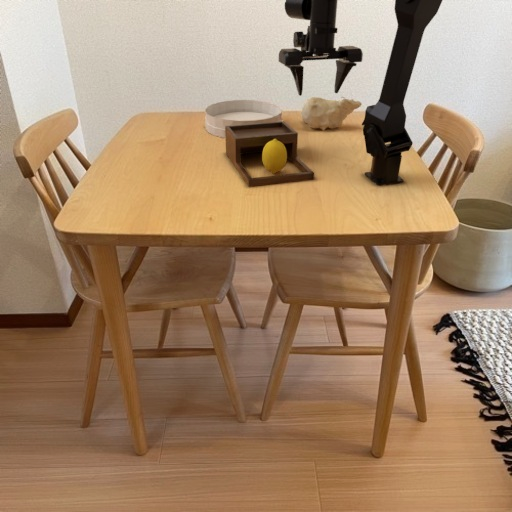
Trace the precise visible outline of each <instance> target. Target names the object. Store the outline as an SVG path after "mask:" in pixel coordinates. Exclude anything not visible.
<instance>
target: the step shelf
mask: <svg viewBox="0 0 512 512" xmlns="http://www.w3.org/2000/svg"><path fill="white" fill-rule="evenodd" d="M225 135H226V138H225V154H226V156H227V158H228V159H229V160H230V162H231V163H232V165H233V166H234V167H235V170H236V171H237V172H238V174H239V175H240V176H241V178H242V179H243V180H244V182H245V184H246V185H247V186H248V187H257V186H258V187H259V186H266V185H275V184H283V183H290V182H292V183H293V182H302V181H310V180H315V171H313V170H312V169H311V168H310V167H309V166H308V165H307V164H305V162H304V161H302V159H301V158H300V157H299V156H298V140H299V132H298V131H296V130H295V129H293V127H292V126H290V125H289V124H288V123H287V122H286V121H284V120H282V121H280V122H268V123H256V124H244V125H232V126H225ZM273 139H277V140H278V141H280V142H281V143H283V144H284V146H285V148H286V152H287V159H288V161H290V162H291V163H293V164H294V165H295V166H296V168H298V169H299V171H301V172H295V173H285V174H276V175H275V174H274V175H268V176H267V175H266V176H258V177H252V176H251V174H250V173H249V172H248V170H247V169H246V168H245V167H244V165H243V164H242V160H241V158H242V155H244V154H255V153H262V152H263V149H264V146H265V145H266V144H267V143H268V142H270V141H272V140H273Z"/></svg>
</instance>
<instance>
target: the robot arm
mask: <svg viewBox="0 0 512 512" xmlns="http://www.w3.org/2000/svg"><path fill="white" fill-rule="evenodd" d="M394 1H395V2H394V13H395V18H396V22H397V28H396V32H395V36H394V39H393V45H392V48H391V52H390V56H389V60H388V64H387V68H386V71H385V75H384V79H383V83H382V87H381V92H380V94H379V98H378V100H377V102H376V104H372V105H367V107H366V109H365V112H364V119H363V121H362V123H361V126H363V128H362V134H363V135H362V136H364V144H365V150H366V153H367V154H369V155H370V156H371V157H372V158H371V159H372V160H371V166H370V171H366V172H364V176H365V177H367V178H368V179H369V180H370V181H371V182H373V183H374V184H375V185H377V186H383V185H384V186H385V185H392V184H393V185H394V184H400V183H404V181H405V180H404V178H403V177H401V176H399V175H400V170H401V163H402V158H403V155H402V153H405V152H409V151H410V150H411V148H412V146H413V145H414V144H413V143H414V142H413V140H412V139H411V136H410V134H409V133H408V131H407V129H406V122H407V114H406V110H405V105H404V102H405V99H406V95H407V92H408V88H409V85H410V81H411V78H412V74H413V71H414V67H415V64H416V61H417V57H418V53H419V50H420V47H421V43H422V41H423V36H424V33H425V31H426V28H427V27H428V25H430V23H431V21H432V20H433V19H434V17H435V16H436V15H437V14H438V11H439V9H440V8H441V5H442V3H443V0H394ZM337 9H338V0H285V2H284V11H285V13H286V16H287V17H289V18H291V19H296V20H305V21H309V25H307V31H306V33H304V31H294V33H293V38H292V42H293V47H294V48H281V49H280V50H279V52H278V62H279V63H280V64H282V65H283V66H285V67H286V68H288V69H289V70H290V72H291V75H292V77H293V80H294V82H295V87H296V91H297V94H298V96H302V95H303V90H304V89H303V88H304V68H305V67H304V66H303V65H301V64H302V63H303V62H305V61H321V60H322V61H323V60H324V61H326V60H335V66H336V71H335V79H334V93H335V94H338V93H339V92H340V90H341V87H342V86H343V84H344V82H345V80H346V78H347V76H348V75H349V73H350V72H351V70H352V69H353V67H357V64H358V63H362V62H363V57H364V52H363V50H362V48H360V47H358V46H354V45H344V46H343V45H342V46H338V48H336V47H335V39H336V38H335V37H336V34H338V27H336V25H337V24H336V23H337V12H338V11H337ZM299 48H300V49H299Z"/></svg>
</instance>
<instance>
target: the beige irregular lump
mask: <svg viewBox="0 0 512 512" xmlns="http://www.w3.org/2000/svg"><path fill="white" fill-rule="evenodd" d="M340 98H341V100H336V99H335V100H334V99H325V98H322V97H316V96H314V97H310V98H308V99H307V100H306V101H305V102H304V103H303V105H302V107H301V114H300V115H301V120H302V121H303V123H306V124H307V125H308V127H310V128H311V129H320V130H322V131H325V130H326V129H327V128H329V129H330V130H331V129H332V130H333V129H335V128H340V127H341V125H342V124H343V121H345V120H346V118H347V117H348V116H349V115H350V114H351V113H353V112H354V111H355V110H357V109H358V108H361V106H362V104H363V103H362V102H361V101H358V100H354V99H353V98H351V99H348V98H345V97H344V96H341V97H340Z"/></svg>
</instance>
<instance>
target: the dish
mask: <svg viewBox="0 0 512 512" xmlns="http://www.w3.org/2000/svg"><path fill="white" fill-rule="evenodd" d="M204 112H205V113H204V114H205V118H204V124H205V131H206V132H207V133H208V134H210V135H212V136H215V137H219V138H222V139H226V135H225V126H232V125H244V124H256V123H268V122H280V121H283V118H282V114H283V109H282V107H281V106H279V105H277V104H275V103H272V102H268V101H263V100H255V99H254V100H253V99H234V100H232V99H231V100H225V101H220V102H219V101H218V102H216V103H213V104H210V105H208V106H207V107H206V108H205V109H204Z"/></svg>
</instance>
